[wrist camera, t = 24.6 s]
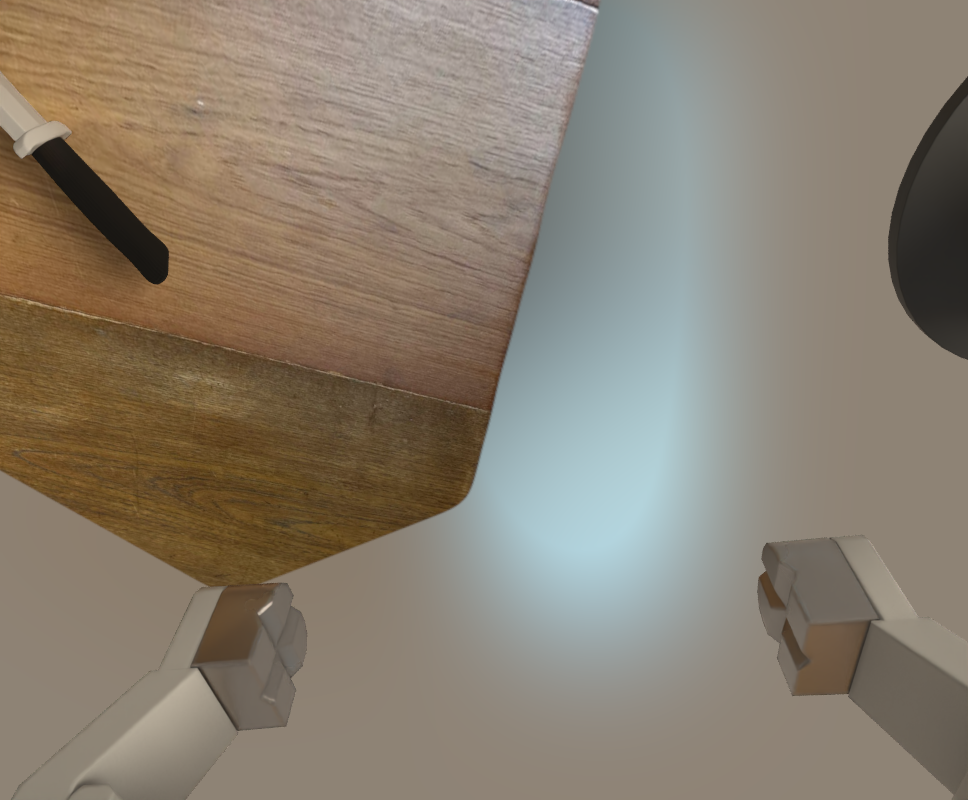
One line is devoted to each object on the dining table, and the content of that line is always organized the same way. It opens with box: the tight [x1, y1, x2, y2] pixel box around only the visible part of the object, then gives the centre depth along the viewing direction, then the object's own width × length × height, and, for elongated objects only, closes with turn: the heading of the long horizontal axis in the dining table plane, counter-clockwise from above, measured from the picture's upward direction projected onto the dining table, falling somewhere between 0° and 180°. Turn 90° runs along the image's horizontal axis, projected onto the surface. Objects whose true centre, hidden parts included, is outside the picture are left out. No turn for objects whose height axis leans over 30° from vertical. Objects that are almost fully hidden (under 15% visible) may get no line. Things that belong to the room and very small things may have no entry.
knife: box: [0, 71, 169, 284], centre depth 40 cm, size 25×2×5 cm, turn 33°
